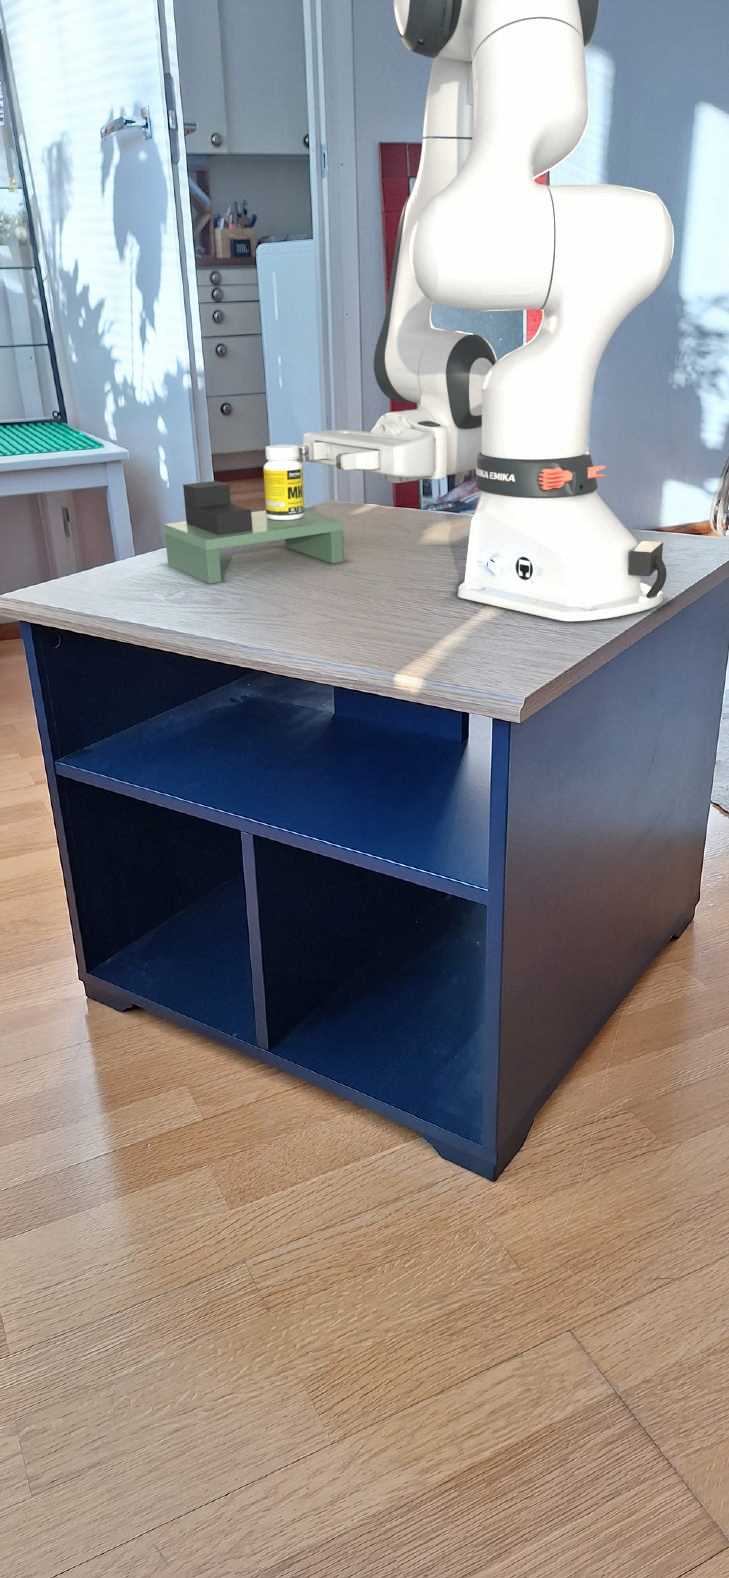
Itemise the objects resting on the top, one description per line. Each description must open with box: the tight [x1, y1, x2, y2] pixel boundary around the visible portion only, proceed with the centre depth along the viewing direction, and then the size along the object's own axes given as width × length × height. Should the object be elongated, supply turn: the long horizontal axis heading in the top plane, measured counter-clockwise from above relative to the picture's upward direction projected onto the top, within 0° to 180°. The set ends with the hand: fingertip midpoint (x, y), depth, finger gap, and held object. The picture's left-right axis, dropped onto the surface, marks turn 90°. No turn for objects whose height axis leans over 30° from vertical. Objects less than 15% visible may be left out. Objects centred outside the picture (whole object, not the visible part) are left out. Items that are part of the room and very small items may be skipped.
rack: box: [163, 509, 344, 585], centre depth 135 cm, size 12×18×5 cm, turn 122°
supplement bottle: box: [262, 444, 305, 520], centre depth 135 cm, size 5×5×8 cm
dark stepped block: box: [182, 480, 252, 535], centre depth 131 cm, size 9×4×5 cm, turn 32°
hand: (316, 458), depth 137 cm, fingers open, 8 cm apart
